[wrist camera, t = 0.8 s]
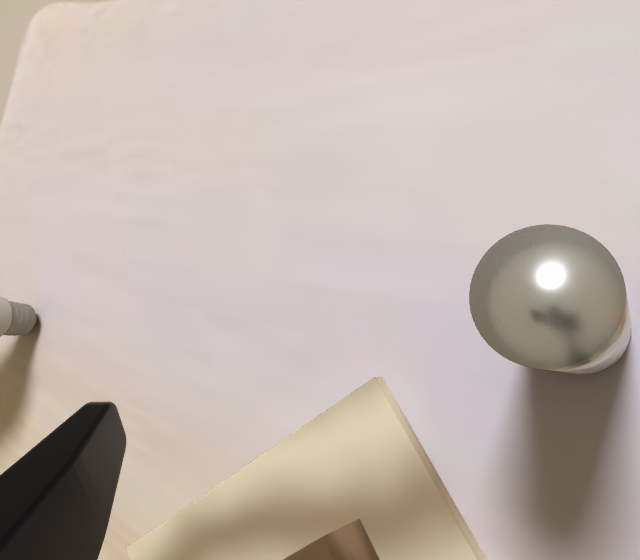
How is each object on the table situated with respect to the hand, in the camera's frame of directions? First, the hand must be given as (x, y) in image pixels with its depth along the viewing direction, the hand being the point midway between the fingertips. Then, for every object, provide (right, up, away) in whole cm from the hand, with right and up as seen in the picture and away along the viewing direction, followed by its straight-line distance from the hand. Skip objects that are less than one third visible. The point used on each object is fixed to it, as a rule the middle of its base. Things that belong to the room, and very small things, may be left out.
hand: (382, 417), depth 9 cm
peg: (+10, 0, +14) cm, 17 cm away
